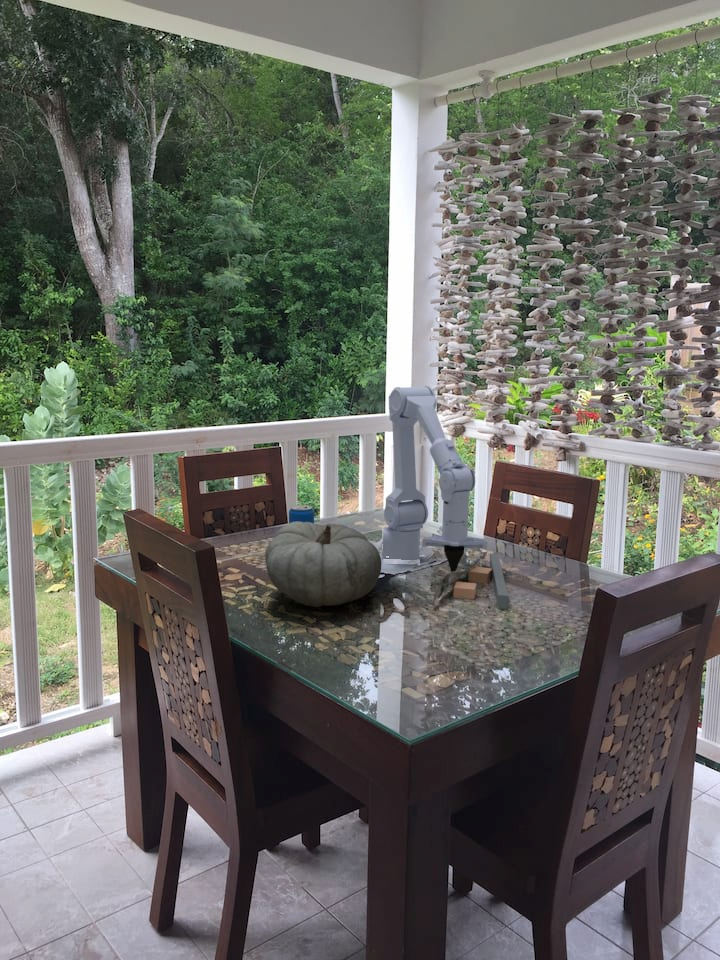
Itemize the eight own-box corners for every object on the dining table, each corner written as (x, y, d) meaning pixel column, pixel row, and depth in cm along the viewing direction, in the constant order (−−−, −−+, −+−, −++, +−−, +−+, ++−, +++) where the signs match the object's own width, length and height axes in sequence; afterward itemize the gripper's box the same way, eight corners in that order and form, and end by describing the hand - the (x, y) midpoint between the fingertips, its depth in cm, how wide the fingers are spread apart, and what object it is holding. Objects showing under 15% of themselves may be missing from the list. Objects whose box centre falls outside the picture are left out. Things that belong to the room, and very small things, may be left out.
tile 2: (468, 581, 191) (468, 571, 190) (473, 576, 195) (473, 566, 194) (487, 584, 189) (487, 573, 188) (492, 578, 193) (492, 568, 192)
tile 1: (453, 598, 179) (453, 587, 179) (456, 592, 183) (456, 581, 183) (474, 600, 178) (474, 589, 177) (476, 594, 182) (476, 583, 182)
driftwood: (429, 610, 171) (441, 593, 169) (419, 602, 171) (432, 585, 170) (481, 564, 203) (492, 549, 201) (473, 557, 204) (484, 542, 202)
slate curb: (497, 608, 172) (498, 595, 171) (489, 565, 203) (490, 553, 203) (507, 609, 172) (508, 595, 171) (497, 565, 203) (498, 554, 202)
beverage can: (318, 551, 214) (319, 506, 211) (304, 557, 208) (304, 511, 206) (298, 547, 217) (298, 503, 215) (283, 553, 212) (283, 507, 210)
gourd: (298, 627, 160) (298, 541, 157) (242, 592, 180) (241, 515, 177) (401, 605, 174) (403, 525, 170) (339, 575, 194) (339, 503, 191)
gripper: (422, 522, 182) (420, 581, 185) (488, 525, 181) (485, 584, 184) (423, 515, 189) (421, 572, 192) (487, 518, 188) (484, 575, 190)
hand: (453, 577), depth 188 cm, fingers closed, pressing on driftwood
